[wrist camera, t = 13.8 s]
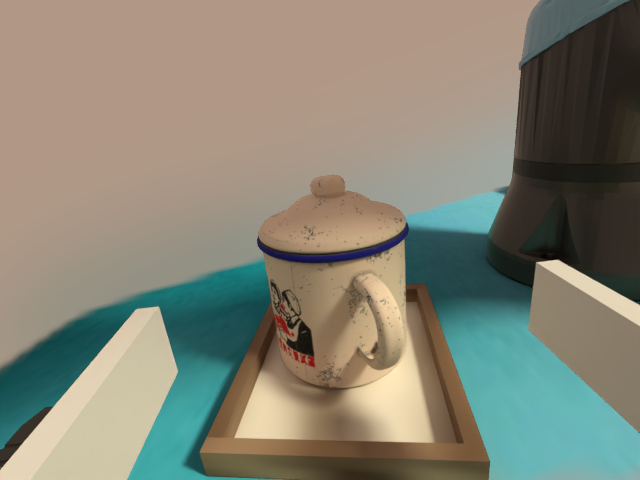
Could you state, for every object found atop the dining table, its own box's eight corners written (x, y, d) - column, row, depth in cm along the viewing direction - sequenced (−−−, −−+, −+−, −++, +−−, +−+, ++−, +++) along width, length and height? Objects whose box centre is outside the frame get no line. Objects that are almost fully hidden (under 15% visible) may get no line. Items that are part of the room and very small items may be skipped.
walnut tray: (425, 299, 29) (425, 283, 29) (487, 487, 15) (490, 461, 14) (279, 304, 31) (276, 289, 31) (206, 475, 16) (199, 452, 16)
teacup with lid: (266, 328, 27) (239, 179, 23) (372, 299, 30) (364, 160, 26) (312, 462, 16) (276, 224, 12) (473, 400, 19) (486, 184, 15)
